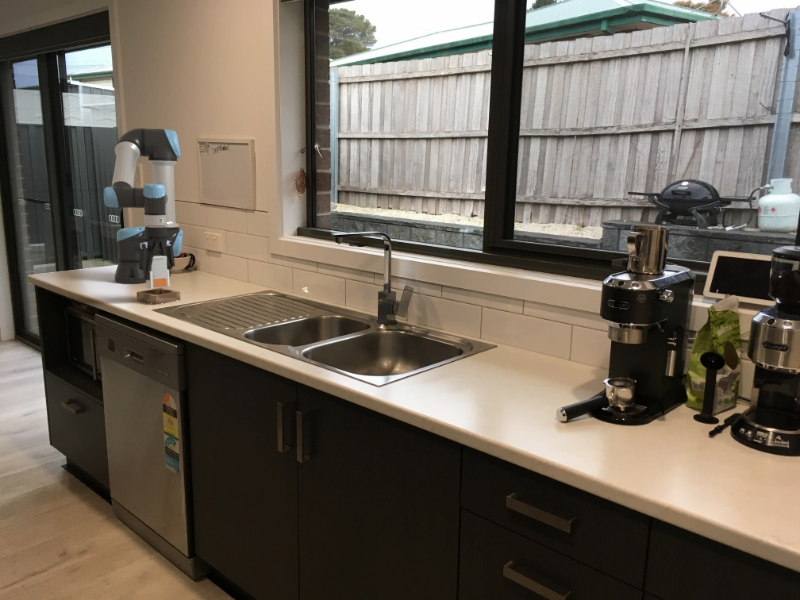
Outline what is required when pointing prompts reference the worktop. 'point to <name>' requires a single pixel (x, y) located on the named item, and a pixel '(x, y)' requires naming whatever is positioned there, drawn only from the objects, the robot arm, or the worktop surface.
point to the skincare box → (159, 271)
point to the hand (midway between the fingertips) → (158, 286)
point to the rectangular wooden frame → (158, 296)
